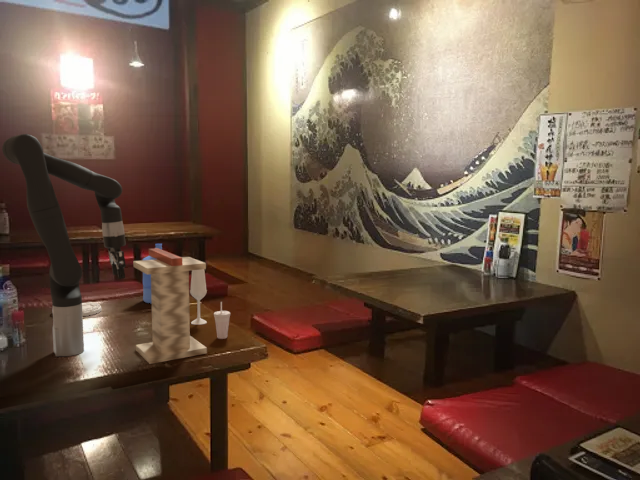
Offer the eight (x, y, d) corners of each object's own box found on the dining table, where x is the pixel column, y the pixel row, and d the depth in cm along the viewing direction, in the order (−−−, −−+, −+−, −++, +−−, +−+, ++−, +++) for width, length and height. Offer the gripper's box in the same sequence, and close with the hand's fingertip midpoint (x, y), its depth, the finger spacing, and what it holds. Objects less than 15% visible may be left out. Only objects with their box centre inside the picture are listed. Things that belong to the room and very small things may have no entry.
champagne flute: (210, 321, 225) (209, 265, 222) (200, 325, 219) (199, 268, 216) (197, 319, 228) (196, 264, 225) (187, 323, 222) (186, 266, 219)
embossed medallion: (103, 306, 249) (103, 300, 249) (99, 317, 230) (99, 310, 230) (56, 309, 243) (55, 302, 243) (48, 320, 224) (48, 313, 224)
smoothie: (210, 338, 202) (210, 302, 200) (219, 334, 208) (219, 299, 206) (225, 340, 200) (225, 304, 198) (233, 335, 206) (233, 300, 204)
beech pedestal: (149, 364, 175) (146, 268, 171) (136, 350, 188) (133, 261, 184) (206, 353, 186) (205, 263, 182) (190, 341, 199) (189, 256, 195)
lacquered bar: (172, 266, 175) (172, 258, 175) (148, 255, 197) (148, 248, 196) (182, 265, 177) (182, 257, 177) (158, 254, 199) (158, 248, 198)
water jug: (146, 297, 267) (145, 241, 264) (178, 296, 269) (177, 241, 265) (139, 304, 252) (138, 246, 248) (173, 304, 254) (172, 246, 250)
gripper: (98, 233, 200) (104, 275, 202) (107, 237, 188) (113, 281, 191) (119, 230, 204) (124, 271, 207) (129, 234, 192) (134, 277, 195)
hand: (118, 276), depth 199 cm, fingers open, 8 cm apart
